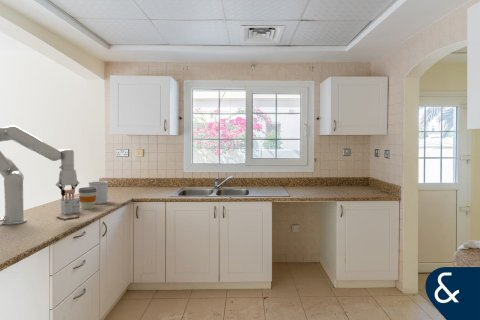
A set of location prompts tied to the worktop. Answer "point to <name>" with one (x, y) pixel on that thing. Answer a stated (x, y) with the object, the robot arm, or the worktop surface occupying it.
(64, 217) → the walnut board
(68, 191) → the pink notched block
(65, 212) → the light bulb box
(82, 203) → the reusable coffee cup
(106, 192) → the utensil holder
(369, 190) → the worktop surface
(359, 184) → the worktop surface
